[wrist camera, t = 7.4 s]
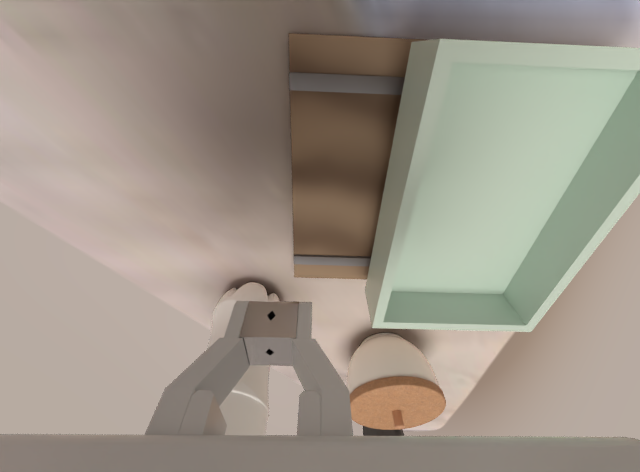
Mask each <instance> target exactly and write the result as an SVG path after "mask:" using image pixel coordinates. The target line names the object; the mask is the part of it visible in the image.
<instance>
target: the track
mask: <svg viewBox="0 0 640 472" xmlns="http://www.w3.org/2000/svg"><path fill="white" fill-rule="evenodd" d="M415 41H424V40H422V39H401V38H379V37H358V36H336V35H314V34H293V33H289V69H290V72H289V87H290V111H291V154H292V196H293V238H294V277H305V278H342V279H367V277H368V272H369V266H370V261H371V256H372V250H373V245H374V240H375V234H376V229H377V224H378V218H379V213H380V208H381V202H382V197H383V192H384V186H385V181H386V176H387V170H388V165H389V160H390V154H391V149H392V144H393V138H394V133H395V128H396V122H397V117H398V112H399V106H400V101H401V96H402V90H403V85H404V80H405V74H406V69H407V64H408V58H409V53H410V48H411V42H415Z"/></svg>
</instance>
